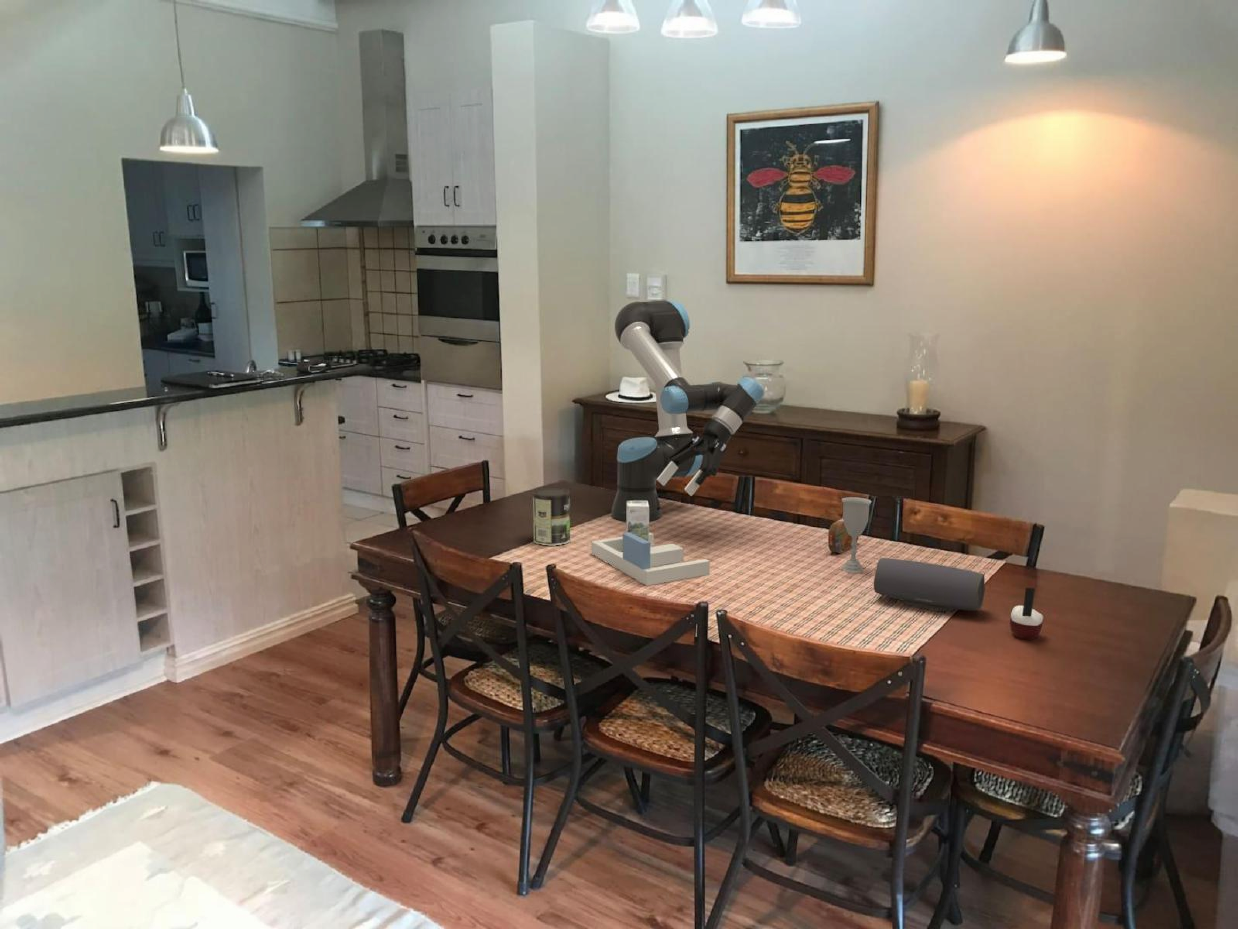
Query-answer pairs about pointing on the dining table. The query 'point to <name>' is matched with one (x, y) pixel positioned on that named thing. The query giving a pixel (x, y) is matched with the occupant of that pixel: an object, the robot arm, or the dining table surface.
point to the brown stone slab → (839, 537)
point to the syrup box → (638, 519)
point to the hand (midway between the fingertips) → (673, 487)
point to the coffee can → (551, 516)
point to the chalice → (855, 527)
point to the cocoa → (1026, 618)
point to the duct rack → (648, 559)
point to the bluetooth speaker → (929, 585)
